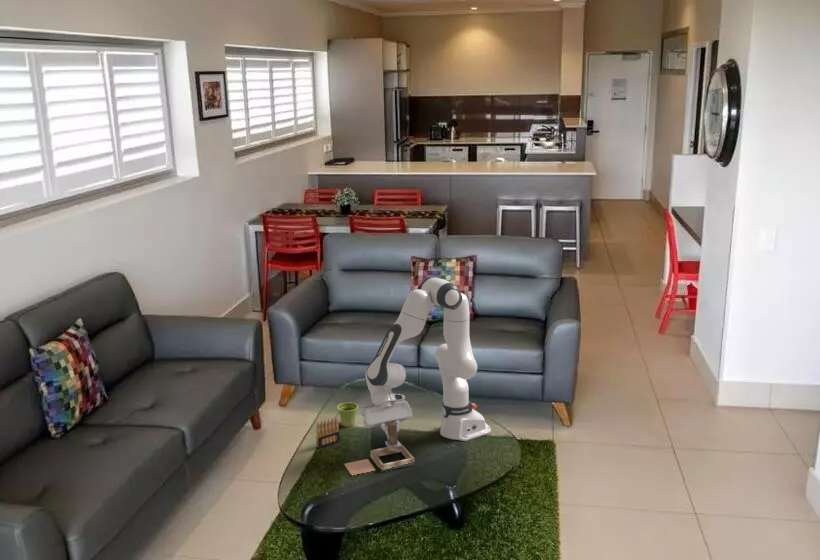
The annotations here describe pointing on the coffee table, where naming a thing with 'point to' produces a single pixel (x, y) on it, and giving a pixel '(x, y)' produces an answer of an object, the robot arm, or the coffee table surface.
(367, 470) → the terracotta tile
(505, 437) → the coffee table surface
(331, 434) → the ammunition clip
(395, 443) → the wooden post
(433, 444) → the coffee table surface
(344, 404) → the plant pot
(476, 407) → the robot arm
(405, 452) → the frame
